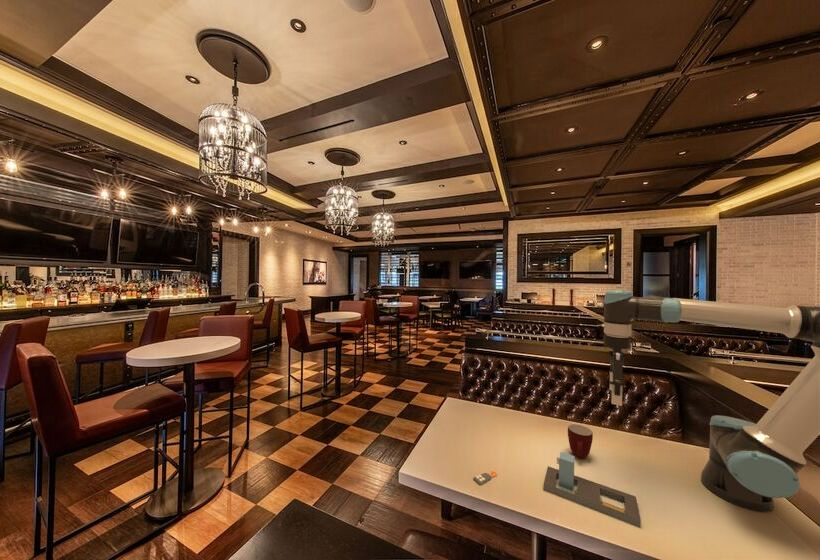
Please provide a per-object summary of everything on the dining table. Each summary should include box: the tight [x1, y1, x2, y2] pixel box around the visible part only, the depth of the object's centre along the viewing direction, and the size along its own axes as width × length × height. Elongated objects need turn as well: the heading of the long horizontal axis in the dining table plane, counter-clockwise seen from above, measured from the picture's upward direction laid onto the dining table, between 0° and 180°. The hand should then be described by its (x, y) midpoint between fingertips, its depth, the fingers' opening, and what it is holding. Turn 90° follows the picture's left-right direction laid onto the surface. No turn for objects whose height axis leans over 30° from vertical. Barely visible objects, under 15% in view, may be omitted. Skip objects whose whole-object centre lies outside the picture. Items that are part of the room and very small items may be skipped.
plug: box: [556, 451, 576, 491], centre depth 91 cm, size 5×4×10 cm
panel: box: [543, 465, 642, 528], centre depth 87 cm, size 24×10×2 cm, turn 57°
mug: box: [567, 423, 594, 460], centre depth 106 cm, size 10×8×10 cm
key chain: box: [472, 470, 501, 486], centre depth 96 cm, size 13×4×2 cm, turn 121°
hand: (615, 397), depth 97 cm, fingers open, 13 cm apart
